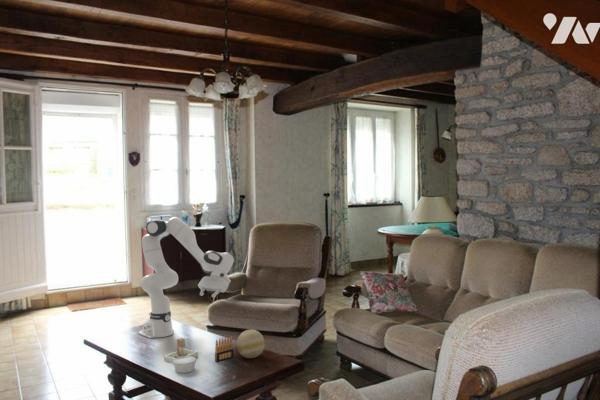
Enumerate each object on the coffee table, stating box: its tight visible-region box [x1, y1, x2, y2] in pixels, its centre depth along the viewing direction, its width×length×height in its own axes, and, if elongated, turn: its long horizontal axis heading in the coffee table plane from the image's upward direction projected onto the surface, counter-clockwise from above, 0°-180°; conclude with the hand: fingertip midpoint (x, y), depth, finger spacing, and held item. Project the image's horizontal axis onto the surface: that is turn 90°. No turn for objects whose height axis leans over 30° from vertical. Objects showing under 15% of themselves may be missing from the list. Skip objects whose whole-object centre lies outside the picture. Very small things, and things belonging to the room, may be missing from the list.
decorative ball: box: [236, 328, 266, 359], centre depth 275 cm, size 15×15×15 cm
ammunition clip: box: [214, 335, 235, 364], centre depth 272 cm, size 11×2×12 cm, turn 130°
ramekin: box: [172, 356, 197, 374], centre depth 259 cm, size 11×11×5 cm
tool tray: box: [163, 348, 199, 364], centre depth 276 cm, size 11×15×2 cm
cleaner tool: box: [174, 337, 188, 358], centre depth 276 cm, size 3×7×10 cm, turn 147°
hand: (206, 296), depth 302 cm, fingers open, 8 cm apart
